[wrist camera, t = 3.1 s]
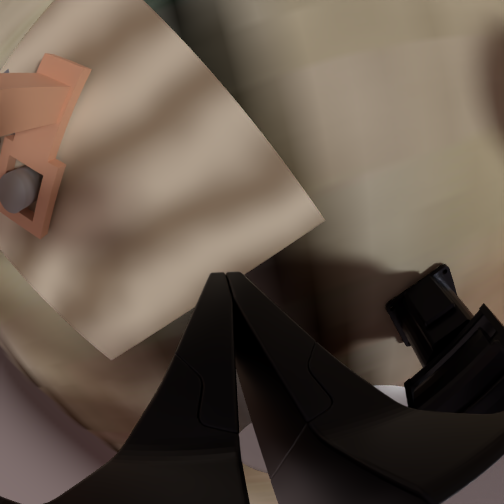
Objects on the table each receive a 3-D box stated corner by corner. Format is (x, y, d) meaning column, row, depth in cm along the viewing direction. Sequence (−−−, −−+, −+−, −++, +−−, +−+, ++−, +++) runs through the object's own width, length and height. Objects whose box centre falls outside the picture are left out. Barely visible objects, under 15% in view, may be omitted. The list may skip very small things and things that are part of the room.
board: (321, 213, 19) (337, 240, 16) (115, 351, 25) (101, 384, 22) (104, -35, 11) (76, -56, 7) (-42, 172, 17) (-71, 186, 13)
